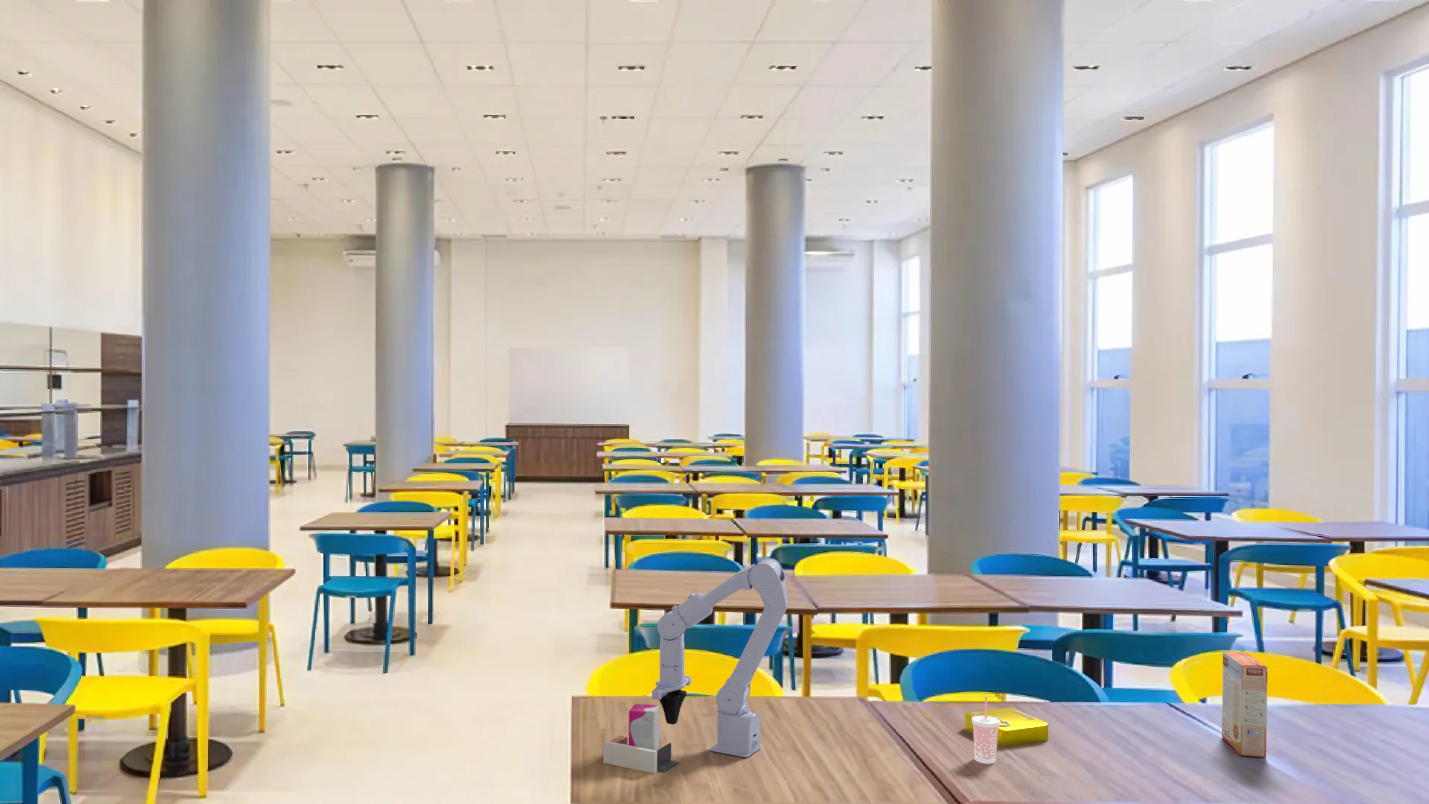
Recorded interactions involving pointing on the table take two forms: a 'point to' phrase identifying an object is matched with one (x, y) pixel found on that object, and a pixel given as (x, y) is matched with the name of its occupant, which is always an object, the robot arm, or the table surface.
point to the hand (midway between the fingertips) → (671, 723)
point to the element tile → (1013, 726)
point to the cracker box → (1244, 704)
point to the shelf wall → (630, 757)
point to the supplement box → (644, 726)
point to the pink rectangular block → (620, 740)
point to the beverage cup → (985, 737)
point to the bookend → (665, 759)
